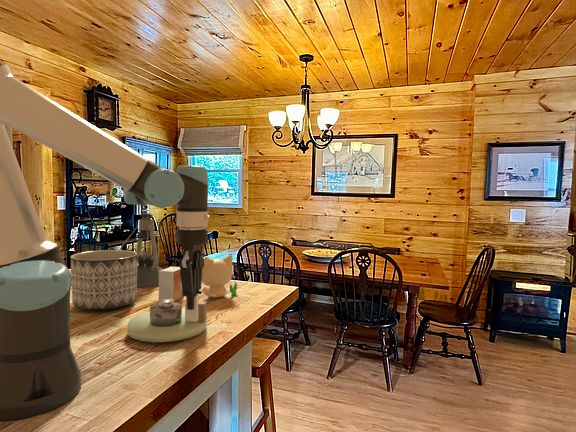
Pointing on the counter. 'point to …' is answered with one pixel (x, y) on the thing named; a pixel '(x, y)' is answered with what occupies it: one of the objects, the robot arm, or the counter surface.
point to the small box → (170, 283)
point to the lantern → (147, 254)
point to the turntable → (186, 329)
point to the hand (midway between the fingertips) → (192, 320)
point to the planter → (104, 279)
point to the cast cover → (165, 313)
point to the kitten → (217, 276)
